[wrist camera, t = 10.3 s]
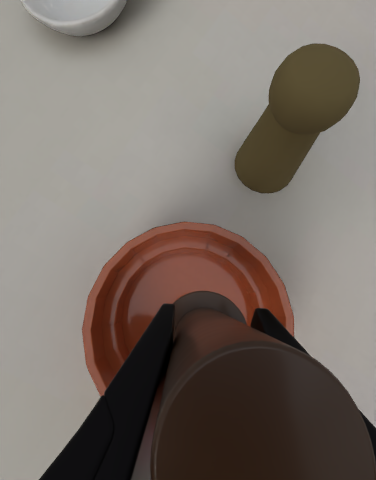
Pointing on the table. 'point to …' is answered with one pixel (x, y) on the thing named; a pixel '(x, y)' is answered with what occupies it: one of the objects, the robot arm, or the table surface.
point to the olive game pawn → (297, 114)
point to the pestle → (251, 406)
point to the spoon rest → (75, 14)
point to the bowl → (173, 287)
